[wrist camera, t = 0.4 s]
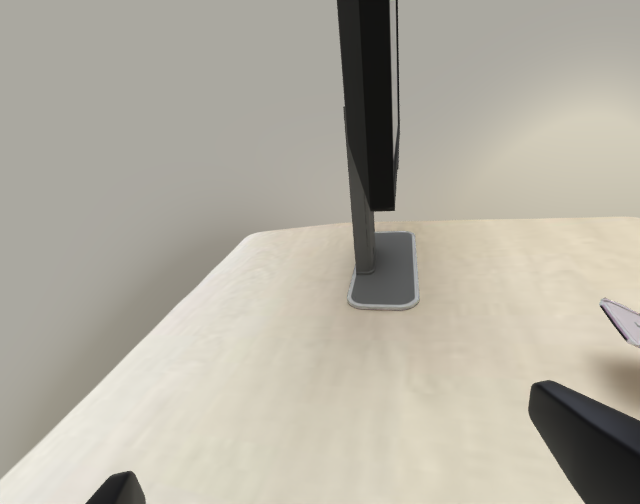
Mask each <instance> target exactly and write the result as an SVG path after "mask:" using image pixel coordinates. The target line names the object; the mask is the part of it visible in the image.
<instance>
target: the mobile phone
mask: <svg viewBox="0 0 640 504" xmlns="http://www.w3.org/2000/svg"><path fill="white" fill-rule="evenodd" d="M599 305H600V307H601V308H602V310H603V311H604V313H605V314H606V315H607V317H608V318H609V320H610V321H611V322H612V324H613V325H614V327H615V328H616V329H617V330H618V332H619V333H620V334H621V335H622V337H623V338H624V339H625V340H626V342H627V343H629V344H631V345H634V346H636V347H638V348H640V314H639V313H637V312H635V311H633V310H631V309H629V308H628V307H626V306H624V305H622V304H619V303H617V302H615V301H614V302H613V301H611V300H609V299H607V298H603V299H601V301H600V303H599Z"/></svg>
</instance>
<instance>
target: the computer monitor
mask: <svg viewBox="0 0 640 504" xmlns="http://www.w3.org/2000/svg"><path fill="white" fill-rule="evenodd" d="M337 8H338V21H339V34H340V48H341V60H342V73H343V87H344V100H345V107H344V120H345V133H346V146H347V158H348V172H349V185H350V198H351V210H352V223H353V236H354V249H355V262H356V264H355V268H354V272H353V275H352V279H351V283H350V287H349V291H348V295H347V300H348V303H349V304H350V305H351V306H353V307H355V308H358V309H373V310H406V309H409V308H412V307H414V306H415V305H417V304H418V302H419V300H420V296H419V282H418V269H417V255H416V241H415V234H414V233H412V232H408V231H386V232H375V229H374V211H395V196H396V181H397V170H398V162H399V160H398V158H399V135H400V120H399V62H398V61H399V60H398V0H337Z"/></svg>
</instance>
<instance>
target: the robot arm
mask: <svg viewBox="0 0 640 504" xmlns="http://www.w3.org/2000/svg"><path fill="white" fill-rule="evenodd" d="M528 411H529V416H530V418H531V420H532V422H533V424H534V425H535V427H536V429H537V430H538V432H539V433H540V435H541V437H542V438H543V440H544V441H545V443H546V445H547V446H548V448H549V449H550V451H551V453H552V454H553V456H554V457H555V459H556V461H557V462H558V464H559V465H560V467H561V469H562V470H563V472H564V473H565V475H566V477H567V478H568V480H569V481H570V483H571V484H572V486H573V487H574V489H575V490H576V491H577V493H578V494H579V496H580V497H581V498H582V500H583V501H584V503H585V504H640V421H639V420H637V419H635V418H633V417H630V416H628V415H626V414H624V413H622V412H619V411H617V410H615V409H613V408H611V407H609V406H606V405H604V404H602V403H600V402H598V401H596V400H593V399H591V398H589V397H587V396H585V395H582V394H580V393H578V392H576V391H574V390H572V389H569V388H567V387H565V386H563V385H561V384H559V383H556V382H554V381H551V380H546V381H542V382H537V383H534V384H533V385H532V386H531V391H530V399H529V407H528ZM86 504H146V500H145V495H144V493H143V491H142V489H141V486H140V484H139V482H138V480H137V478H136V475H135V474H134V473H133V472H132V471H127V472H122V473H118V474H114V475H112V476H110V477H109V478H108V479H107V480H106V481H105V482H104V483H103V484H102V485H101V487H100V488H99V489H98V490H97V491H96V492H95V493H94V495H93V496H92V497H91V498H90V499H89V500H88V501H87V503H86Z"/></svg>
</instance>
